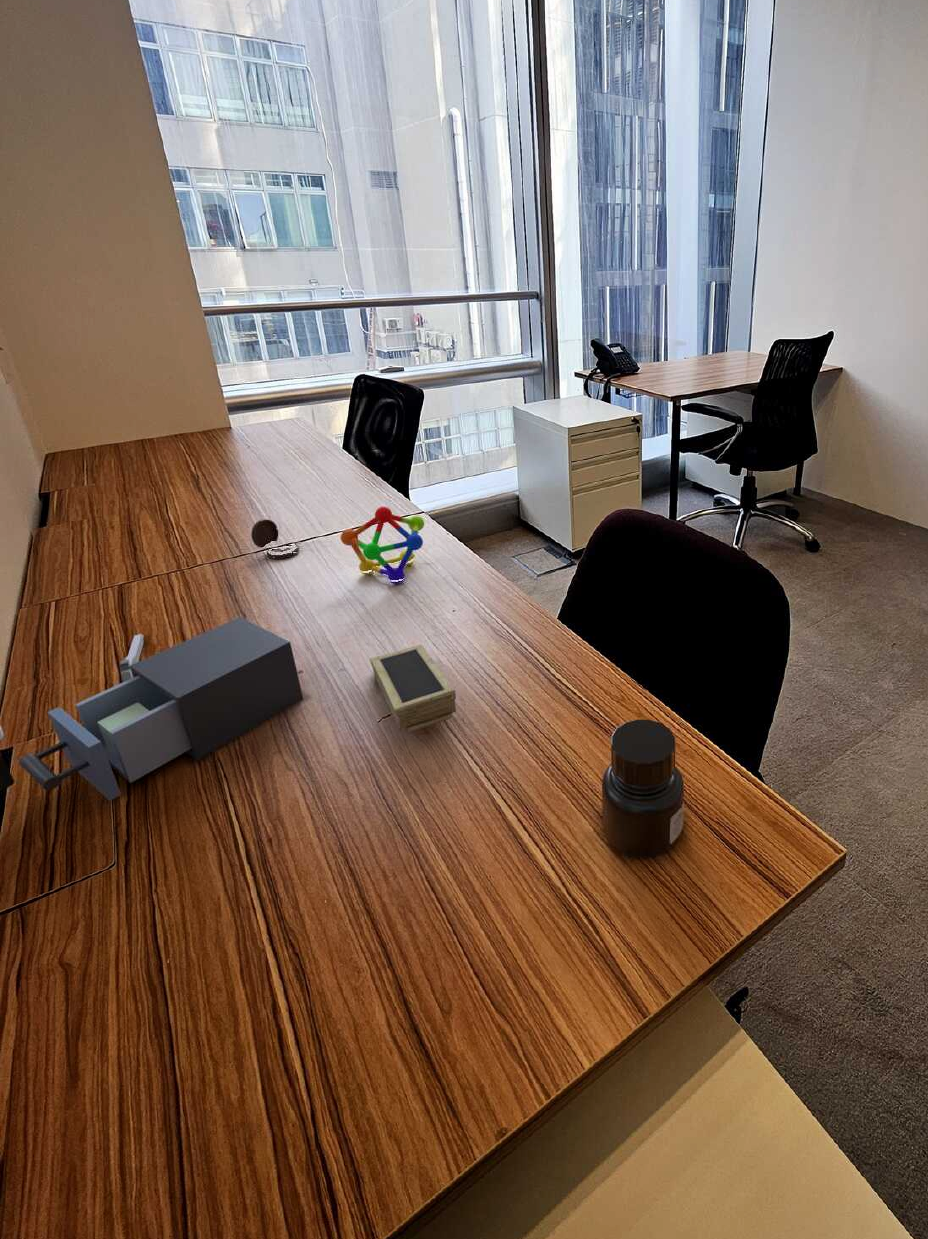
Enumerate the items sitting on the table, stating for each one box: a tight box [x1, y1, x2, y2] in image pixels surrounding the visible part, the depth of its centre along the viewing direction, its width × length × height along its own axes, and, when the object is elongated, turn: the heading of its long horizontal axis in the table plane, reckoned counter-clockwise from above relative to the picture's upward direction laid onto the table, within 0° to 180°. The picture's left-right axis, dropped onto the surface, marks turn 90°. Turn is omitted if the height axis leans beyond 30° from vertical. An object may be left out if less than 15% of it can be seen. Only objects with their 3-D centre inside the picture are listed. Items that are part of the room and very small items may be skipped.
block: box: [97, 702, 149, 760], centre depth 81 cm, size 4×4×4 cm
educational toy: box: [340, 506, 425, 585], centre depth 127 cm, size 16×13×15 cm
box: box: [369, 644, 457, 734], centre depth 94 cm, size 8×22×5 cm, turn 32°
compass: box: [251, 519, 302, 560], centre depth 139 cm, size 8×8×7 cm
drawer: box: [19, 676, 191, 802], centre depth 80 cm, size 18×11×8 cm, turn 147°
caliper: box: [118, 633, 145, 683], centre depth 100 cm, size 20×1×6 cm, turn 33°
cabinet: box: [130, 616, 304, 761], centre depth 90 cm, size 15×13×10 cm
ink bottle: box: [601, 718, 685, 858], centre depth 71 cm, size 10×9×12 cm
